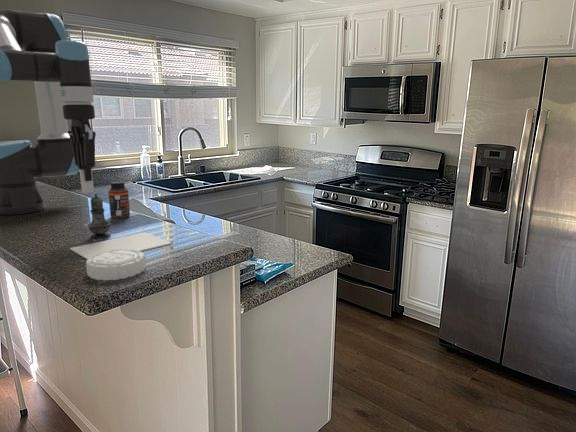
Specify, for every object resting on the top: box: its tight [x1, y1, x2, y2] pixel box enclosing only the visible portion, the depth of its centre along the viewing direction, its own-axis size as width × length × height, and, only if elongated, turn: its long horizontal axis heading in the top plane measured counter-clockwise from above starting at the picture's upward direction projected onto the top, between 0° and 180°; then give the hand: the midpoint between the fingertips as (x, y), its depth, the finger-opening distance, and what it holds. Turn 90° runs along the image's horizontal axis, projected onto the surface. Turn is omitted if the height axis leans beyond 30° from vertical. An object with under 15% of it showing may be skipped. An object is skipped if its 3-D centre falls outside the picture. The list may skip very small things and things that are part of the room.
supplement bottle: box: [108, 180, 131, 219], centre depth 142 cm, size 6×6×11 cm
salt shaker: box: [86, 193, 112, 241], centre depth 120 cm, size 6×6×12 cm
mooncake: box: [85, 249, 147, 281], centre depth 96 cm, size 12×12×4 cm
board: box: [69, 231, 172, 260], centre depth 112 cm, size 14×20×1 cm
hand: (88, 192), depth 122 cm, fingers closed
